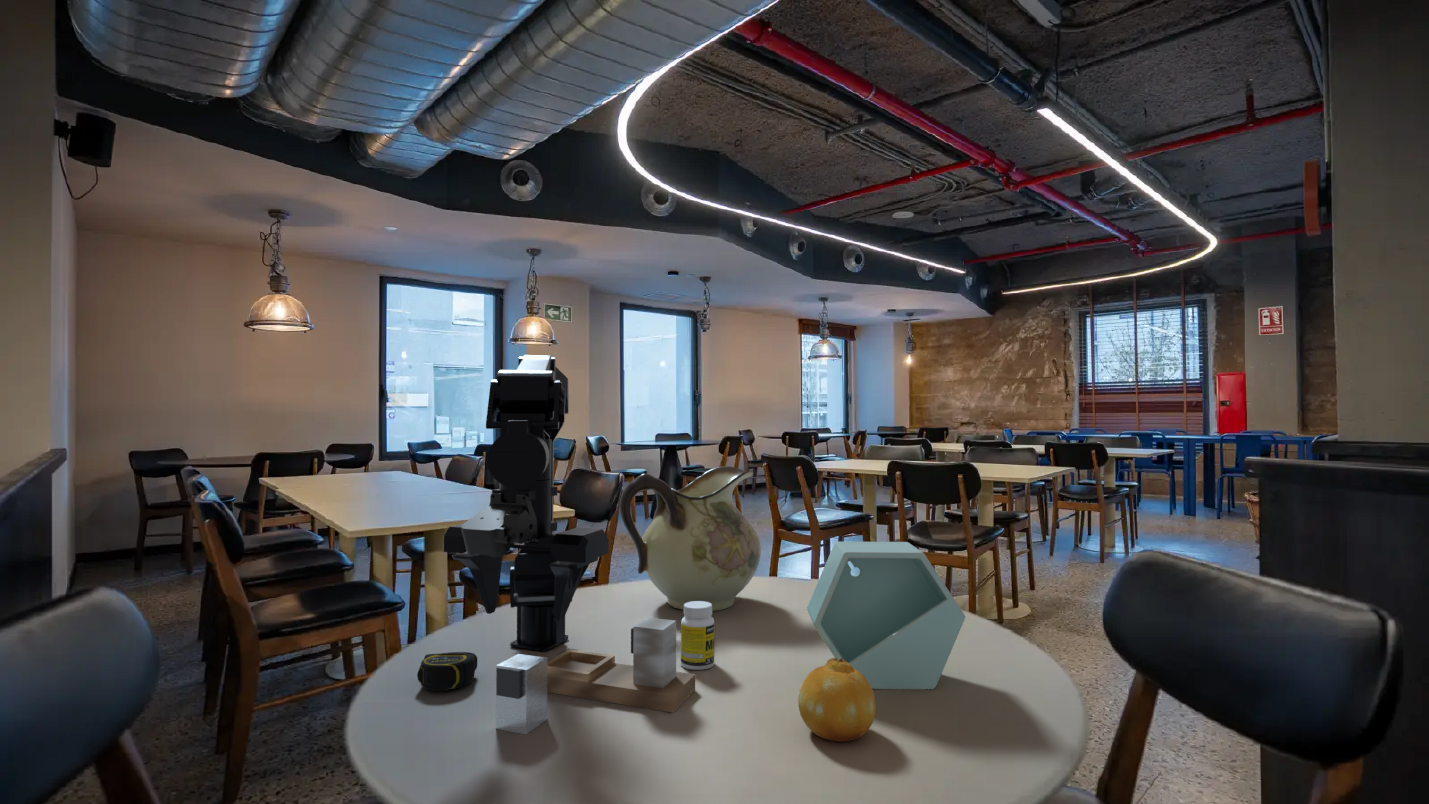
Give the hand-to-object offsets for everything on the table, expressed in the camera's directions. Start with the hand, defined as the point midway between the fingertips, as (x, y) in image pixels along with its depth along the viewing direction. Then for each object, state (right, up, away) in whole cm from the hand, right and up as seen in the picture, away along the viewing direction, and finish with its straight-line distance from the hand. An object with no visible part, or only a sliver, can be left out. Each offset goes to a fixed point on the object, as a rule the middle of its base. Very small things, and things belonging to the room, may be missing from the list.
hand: (524, 616), depth 78 cm
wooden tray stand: (+9, -12, +9) cm, 18 cm away
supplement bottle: (+19, -13, +18) cm, 29 cm away
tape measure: (-13, -13, +11) cm, 22 cm away
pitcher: (+19, -13, +49) cm, 54 cm away
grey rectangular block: (0, -12, 0) cm, 12 cm away
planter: (+44, -13, +13) cm, 48 cm away
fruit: (+35, -12, -3) cm, 37 cm away
